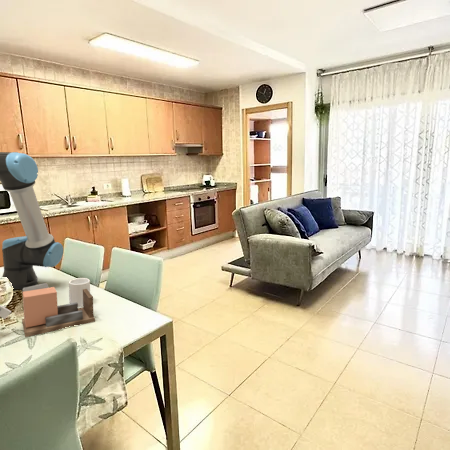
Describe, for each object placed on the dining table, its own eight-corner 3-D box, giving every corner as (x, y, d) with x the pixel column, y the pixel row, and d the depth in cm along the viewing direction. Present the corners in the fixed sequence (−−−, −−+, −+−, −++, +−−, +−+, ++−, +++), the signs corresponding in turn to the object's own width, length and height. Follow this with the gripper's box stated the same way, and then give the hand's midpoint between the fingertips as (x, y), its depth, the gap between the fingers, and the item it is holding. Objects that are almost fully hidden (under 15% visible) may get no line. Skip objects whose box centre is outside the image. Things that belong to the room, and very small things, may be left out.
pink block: (25, 327, 111) (23, 297, 109) (24, 320, 116) (22, 291, 114) (58, 320, 117) (56, 292, 115) (55, 314, 122) (54, 286, 120)
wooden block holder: (25, 337, 109) (23, 310, 107) (22, 323, 118) (20, 298, 117) (94, 321, 122) (94, 297, 120) (87, 309, 131) (86, 287, 130)
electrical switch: (26, 312, 127) (24, 289, 126) (21, 309, 131) (19, 287, 130) (51, 305, 135) (49, 283, 134) (46, 302, 138) (44, 281, 137)
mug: (84, 295, 146) (83, 274, 145) (93, 303, 137) (92, 281, 136) (64, 298, 141) (64, 277, 140) (72, 308, 132) (72, 285, 131)
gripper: (-70, 278, 102) (-2, 316, 114) (-77, 292, 91) (-1, 332, 104) (-50, 260, 104) (15, 299, 116) (-54, 271, 93) (18, 313, 106)
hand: (7, 314), depth 110 cm, fingers closed
